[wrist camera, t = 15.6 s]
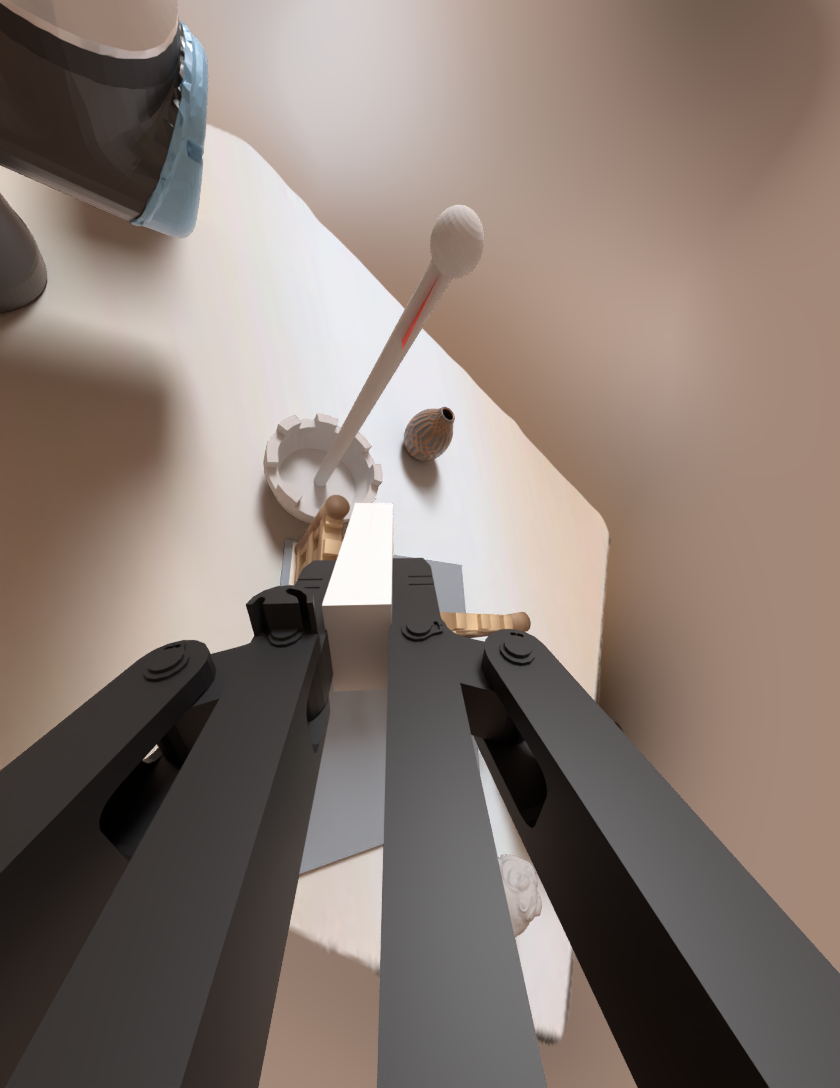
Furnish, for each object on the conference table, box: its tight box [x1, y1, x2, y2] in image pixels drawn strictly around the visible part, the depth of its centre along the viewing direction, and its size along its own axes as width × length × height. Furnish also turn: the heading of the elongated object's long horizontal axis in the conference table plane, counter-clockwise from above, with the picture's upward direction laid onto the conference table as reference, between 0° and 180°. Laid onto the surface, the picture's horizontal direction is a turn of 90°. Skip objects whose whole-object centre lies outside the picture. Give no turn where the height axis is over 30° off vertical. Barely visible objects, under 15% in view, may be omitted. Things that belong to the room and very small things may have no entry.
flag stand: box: [263, 205, 484, 524], centre depth 28 cm, size 13×13×30 cm
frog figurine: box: [498, 854, 542, 937], centre depth 32 cm, size 6×7×7 cm
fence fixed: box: [294, 495, 350, 585], centre depth 29 cm, size 2×11×13 cm, turn 4°
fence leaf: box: [440, 612, 530, 638], centre depth 33 cm, size 20×2×12 cm, turn 94°
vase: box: [404, 407, 455, 461], centre depth 48 cm, size 7×7×9 cm
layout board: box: [280, 539, 480, 874], centre depth 36 cm, size 25×30×1 cm
